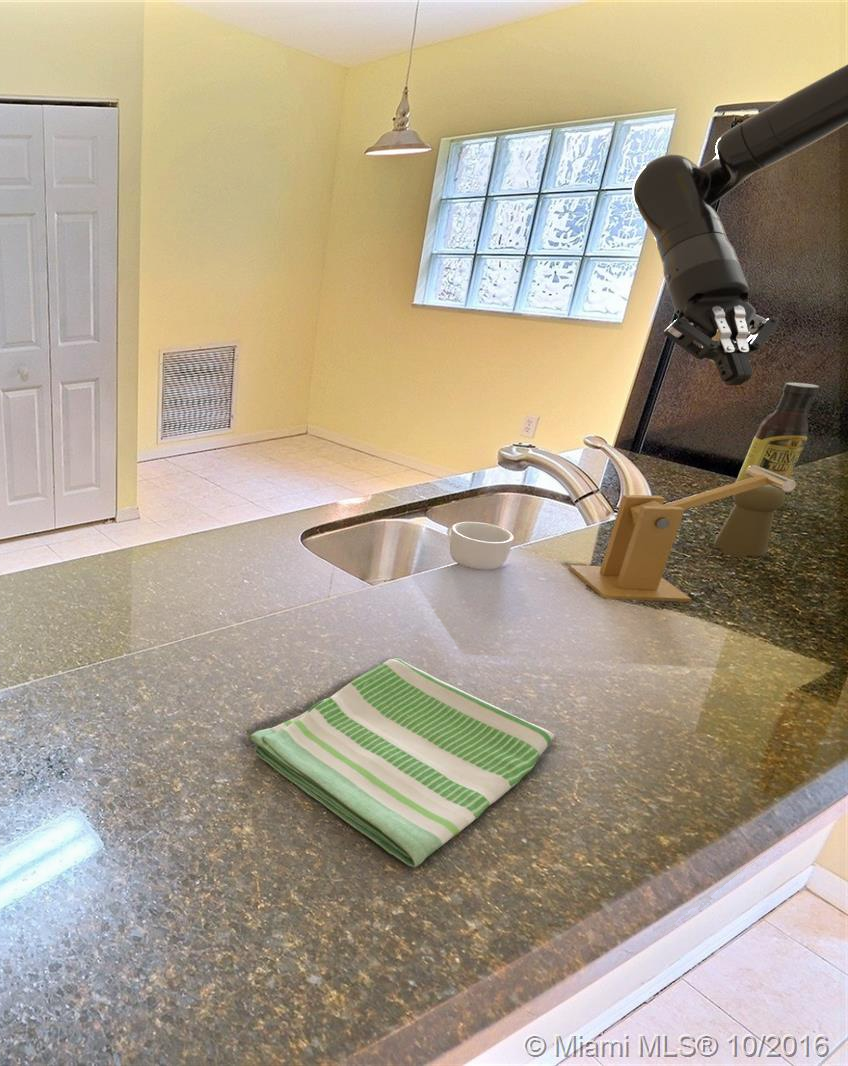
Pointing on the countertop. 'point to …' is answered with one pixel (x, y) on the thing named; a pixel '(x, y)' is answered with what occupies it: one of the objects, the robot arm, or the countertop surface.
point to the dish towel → (404, 756)
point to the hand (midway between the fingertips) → (739, 381)
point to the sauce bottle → (782, 432)
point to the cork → (750, 522)
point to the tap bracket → (637, 554)
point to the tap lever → (727, 490)
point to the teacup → (479, 545)
